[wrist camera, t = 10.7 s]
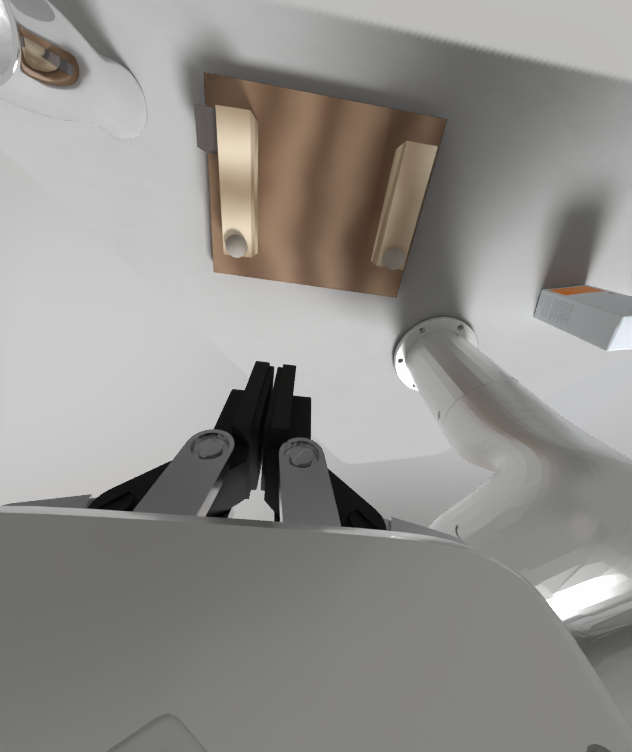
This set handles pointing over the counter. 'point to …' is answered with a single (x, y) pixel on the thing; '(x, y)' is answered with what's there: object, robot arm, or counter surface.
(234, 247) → the hinged leg
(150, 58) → the counter surface
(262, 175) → the stool frame
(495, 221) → the counter surface
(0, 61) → the beer glass
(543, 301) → the skincare box
